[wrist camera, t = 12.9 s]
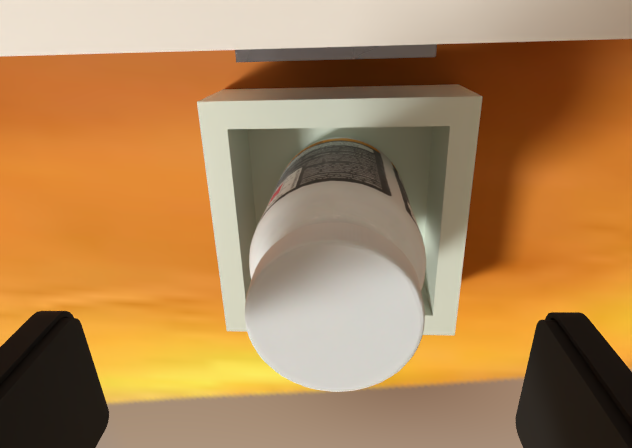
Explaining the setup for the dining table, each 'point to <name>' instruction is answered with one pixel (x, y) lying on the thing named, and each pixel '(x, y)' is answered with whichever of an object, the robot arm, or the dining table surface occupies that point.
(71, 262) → the dining table surface
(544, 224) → the dining table surface
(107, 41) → the board
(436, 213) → the pale green square tray
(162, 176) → the dining table surface
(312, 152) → the pill bottle
